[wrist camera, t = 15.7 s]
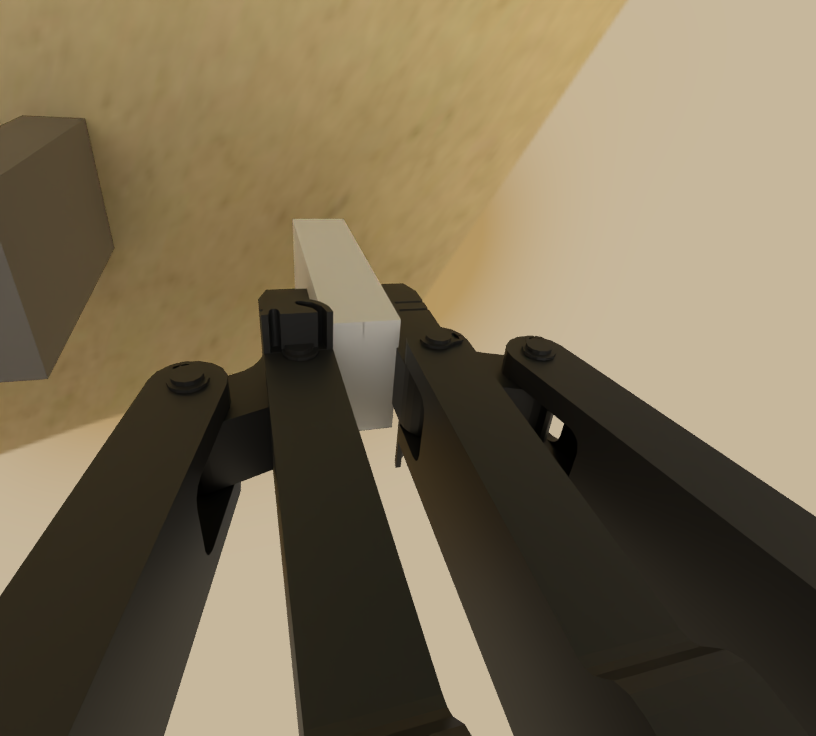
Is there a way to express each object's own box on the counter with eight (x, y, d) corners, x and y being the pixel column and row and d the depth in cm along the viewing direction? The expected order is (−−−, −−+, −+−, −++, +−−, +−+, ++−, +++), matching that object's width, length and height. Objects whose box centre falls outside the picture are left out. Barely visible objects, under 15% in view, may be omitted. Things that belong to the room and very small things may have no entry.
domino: (60, 249, 21) (-42, 385, 13) (22, 115, 19) (-134, 186, 11) (114, 248, 22) (48, 378, 14) (84, 118, 19) (-18, 188, 11)
